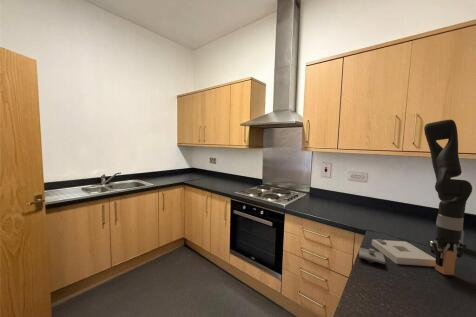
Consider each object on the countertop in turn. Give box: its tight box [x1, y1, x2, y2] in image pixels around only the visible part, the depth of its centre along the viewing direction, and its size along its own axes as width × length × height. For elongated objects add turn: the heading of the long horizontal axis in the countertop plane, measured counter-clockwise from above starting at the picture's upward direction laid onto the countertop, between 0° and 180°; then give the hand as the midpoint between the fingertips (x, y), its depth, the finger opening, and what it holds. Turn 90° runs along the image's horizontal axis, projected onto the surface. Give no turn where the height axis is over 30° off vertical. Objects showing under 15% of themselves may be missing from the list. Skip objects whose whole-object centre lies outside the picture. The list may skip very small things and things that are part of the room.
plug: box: [434, 247, 457, 276], centre depth 86 cm, size 4×4×12 cm
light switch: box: [358, 247, 386, 265], centre depth 94 cm, size 10×10×5 cm
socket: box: [371, 238, 436, 267], centre depth 100 cm, size 18×18×4 cm
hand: (444, 265), depth 86 cm, fingers closed on plug, 4 cm apart
